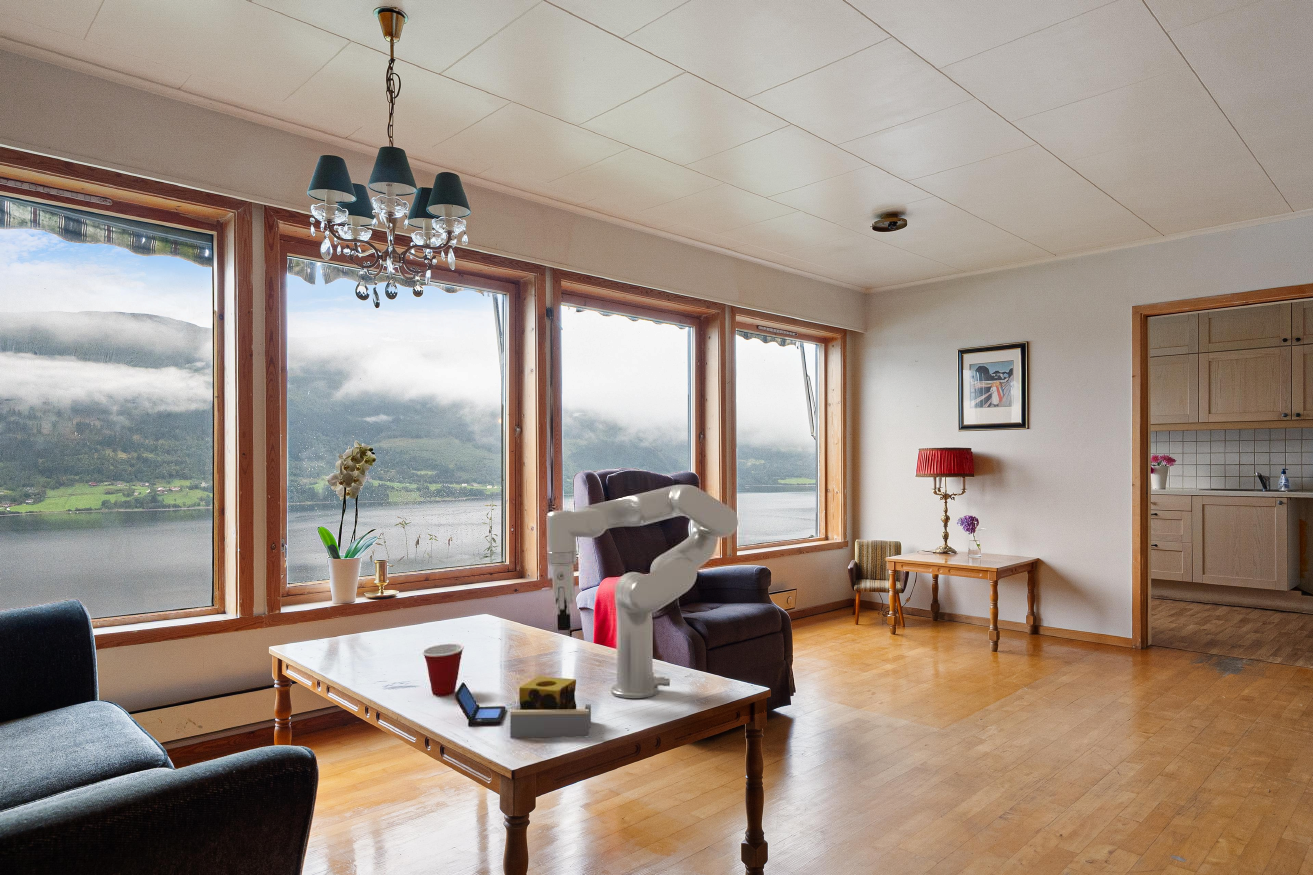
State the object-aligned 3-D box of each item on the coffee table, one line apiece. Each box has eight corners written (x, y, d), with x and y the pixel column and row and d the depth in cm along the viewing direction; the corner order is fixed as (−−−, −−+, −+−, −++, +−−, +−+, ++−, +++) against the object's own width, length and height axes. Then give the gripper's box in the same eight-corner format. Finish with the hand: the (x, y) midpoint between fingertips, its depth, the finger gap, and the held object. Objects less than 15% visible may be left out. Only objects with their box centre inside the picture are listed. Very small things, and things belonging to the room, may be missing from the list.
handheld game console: (500, 726, 177) (500, 694, 178) (453, 728, 176) (453, 695, 177) (506, 710, 190) (506, 679, 190) (462, 711, 189) (462, 680, 189)
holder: (590, 721, 180) (590, 697, 180) (588, 736, 170) (588, 710, 170) (517, 722, 179) (517, 698, 180) (510, 737, 169) (510, 711, 169)
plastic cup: (414, 692, 204) (415, 647, 205) (452, 685, 211) (453, 641, 212) (431, 701, 196) (432, 654, 196) (470, 694, 203) (471, 648, 203)
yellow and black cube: (577, 721, 180) (577, 678, 181) (559, 735, 171) (559, 690, 171) (538, 717, 183) (538, 675, 184) (518, 731, 174) (518, 686, 174)
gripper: (574, 561, 191) (576, 635, 191) (578, 554, 206) (580, 623, 206) (544, 562, 191) (546, 636, 191) (550, 555, 206) (552, 624, 205)
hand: (564, 629), depth 198 cm, fingers closed
